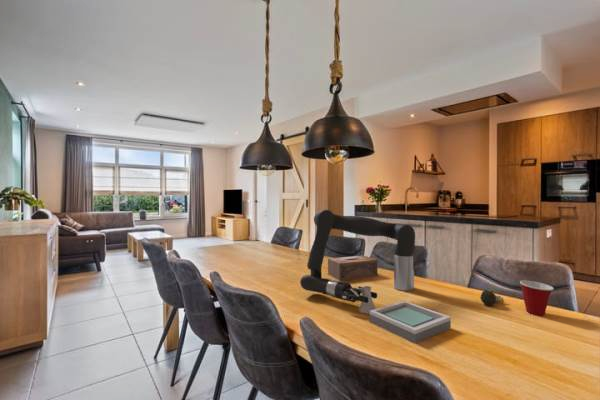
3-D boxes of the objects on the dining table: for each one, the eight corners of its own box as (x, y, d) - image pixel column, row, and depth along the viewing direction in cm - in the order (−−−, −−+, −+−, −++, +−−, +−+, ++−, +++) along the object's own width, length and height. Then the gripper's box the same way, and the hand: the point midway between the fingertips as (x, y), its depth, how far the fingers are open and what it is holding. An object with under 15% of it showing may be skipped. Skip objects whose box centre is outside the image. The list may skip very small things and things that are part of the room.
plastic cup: (556, 321, 113) (556, 289, 113) (521, 315, 118) (521, 285, 118) (550, 311, 122) (550, 282, 122) (518, 306, 128) (518, 278, 128)
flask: (377, 315, 119) (376, 290, 119) (358, 314, 121) (358, 289, 121) (375, 308, 126) (375, 285, 126) (358, 307, 128) (358, 284, 128)
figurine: (506, 292, 136) (497, 292, 125) (505, 306, 135) (496, 308, 125) (486, 288, 141) (476, 288, 131) (485, 302, 140) (475, 303, 130)
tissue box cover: (363, 270, 192) (363, 255, 192) (377, 276, 179) (377, 259, 178) (327, 274, 183) (327, 258, 183) (339, 281, 169) (339, 263, 169)
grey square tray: (404, 310, 124) (404, 300, 124) (450, 328, 107) (450, 316, 107) (369, 321, 113) (369, 310, 113) (415, 343, 96) (415, 330, 96)
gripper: (329, 284, 128) (363, 293, 117) (347, 277, 138) (380, 284, 127) (329, 302, 128) (363, 312, 117) (347, 294, 138) (380, 302, 127)
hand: (372, 297), depth 122 cm, fingers open, 6 cm apart
